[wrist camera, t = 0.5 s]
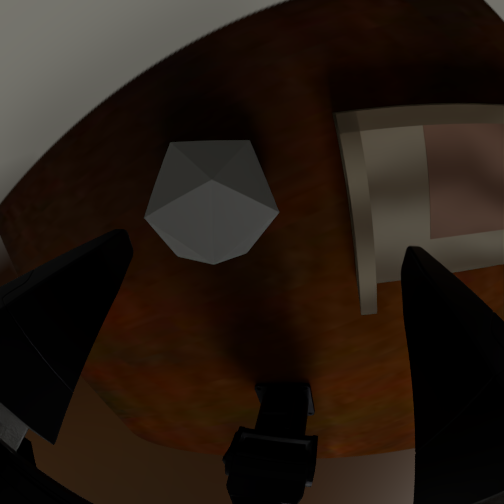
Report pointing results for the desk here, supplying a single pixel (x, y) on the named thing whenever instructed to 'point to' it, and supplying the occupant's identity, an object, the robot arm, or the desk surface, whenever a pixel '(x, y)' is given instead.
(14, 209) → the desk surface
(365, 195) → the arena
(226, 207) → the grey polyhedron
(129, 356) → the desk surface
